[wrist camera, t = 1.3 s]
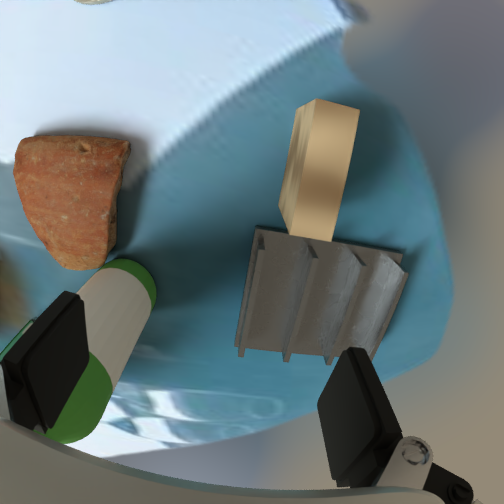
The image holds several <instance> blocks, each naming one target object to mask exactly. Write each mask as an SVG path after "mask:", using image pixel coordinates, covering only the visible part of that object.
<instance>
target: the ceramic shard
mask: <svg viewBox="0 0 504 504" xmlns="http://www.w3.org/2000/svg"><path fill="white" fill-rule="evenodd" d="M130 152H131V148H130V143H129V142H128V141H126V140H118V139H111V138H104V137H92V136H74V135H59V136H51V135H45V136H34V137H28V138H24V139H22V140H21V141H20V143H19V145H18V148H17V150H16V153H15V165H14V170H13V174H14V178H15V182H16V186H17V190H18V193H19V196H20V199H21V202H22V205H23V209H24V212H25V214H26V217H27V219H28V221H29V222H30V224H31V226H32V227H33V229H34V231H35V233H36V235H37V236H38V238H39V239H40V240H41V241H42V242H43V243H44V245H45V246H46V249H47V250H48V251H49V253H50V254H51V255H52V256H53V257H54V259H55V260H57V261H58V263H59V264H60V265H61V266H62V267H64V268H67V269H72V270H87V269H96V268H100V267H101V266H103V265H104V264H105V261H106V259H107V256H108V253H109V251H110V250H111V249H112V248H113V247H114V245H115V243H116V240H117V209H116V200H117V194H118V193H119V191H120V188H121V184H122V178H123V168H124V165H125V163H126V161H127V159H128V157H129V155H130Z"/></svg>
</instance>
